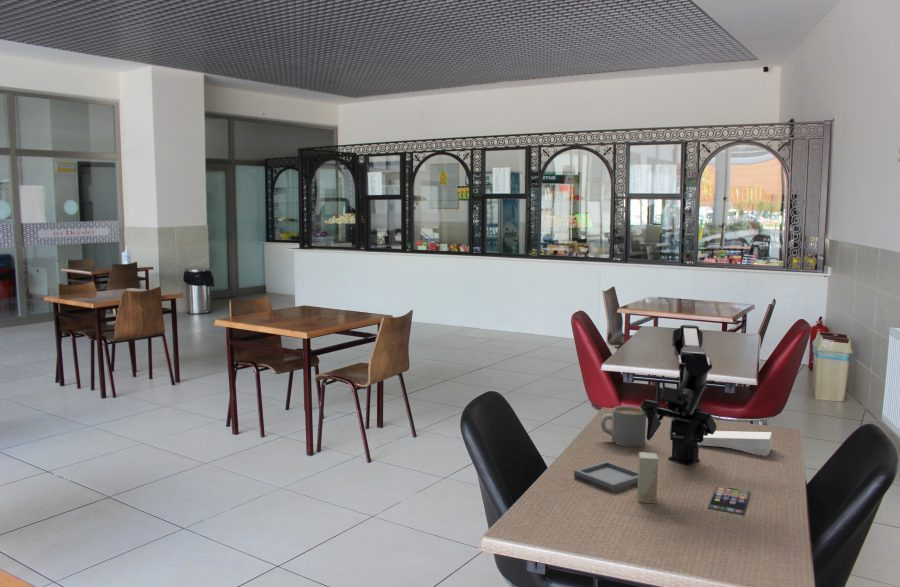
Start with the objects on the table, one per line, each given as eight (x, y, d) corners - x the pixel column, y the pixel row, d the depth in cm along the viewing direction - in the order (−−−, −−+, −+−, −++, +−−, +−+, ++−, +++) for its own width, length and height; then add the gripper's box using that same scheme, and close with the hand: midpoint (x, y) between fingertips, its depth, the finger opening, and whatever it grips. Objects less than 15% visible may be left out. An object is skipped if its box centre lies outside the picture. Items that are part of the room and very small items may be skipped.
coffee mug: (646, 439, 225) (647, 408, 224) (643, 448, 216) (644, 416, 215) (603, 434, 230) (604, 403, 229) (598, 443, 221) (599, 411, 220)
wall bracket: (673, 460, 224) (771, 464, 210) (670, 439, 222) (769, 442, 208) (678, 444, 232) (773, 447, 219) (675, 423, 230) (771, 425, 217)
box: (656, 504, 173) (658, 459, 172) (638, 502, 174) (640, 458, 173) (654, 496, 178) (656, 452, 177) (636, 494, 179) (638, 451, 178)
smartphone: (707, 510, 171) (707, 505, 171) (716, 490, 184) (716, 485, 184) (744, 517, 167) (744, 512, 167) (749, 495, 181) (750, 491, 180)
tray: (574, 477, 190) (574, 470, 190) (606, 468, 198) (606, 461, 198) (612, 492, 180) (613, 485, 180) (645, 482, 188) (645, 474, 187)
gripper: (646, 369, 188) (620, 417, 182) (713, 381, 174) (687, 434, 168) (660, 394, 194) (636, 441, 188) (727, 408, 180) (702, 459, 174)
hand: (664, 443), depth 179 cm, fingers open, 9 cm apart
